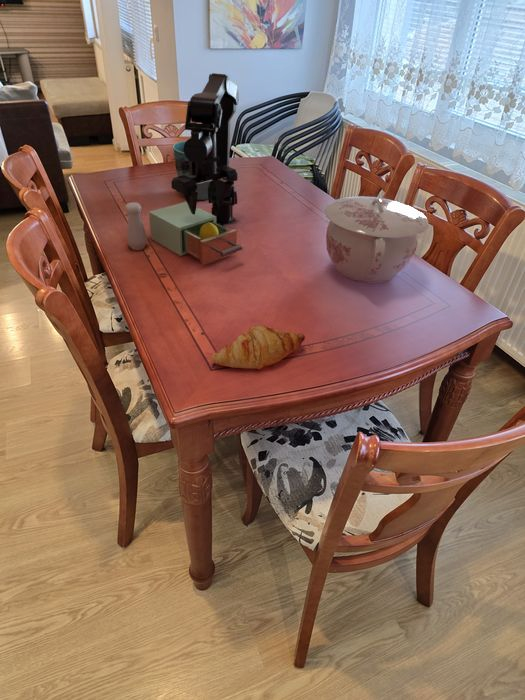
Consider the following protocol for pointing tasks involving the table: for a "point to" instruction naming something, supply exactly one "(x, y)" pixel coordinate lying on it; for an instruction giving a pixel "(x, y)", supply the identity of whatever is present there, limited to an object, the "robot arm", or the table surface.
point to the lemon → (208, 231)
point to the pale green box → (175, 224)
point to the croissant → (258, 348)
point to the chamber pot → (372, 236)
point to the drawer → (209, 243)
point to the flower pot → (201, 188)
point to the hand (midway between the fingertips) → (206, 210)
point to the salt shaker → (135, 227)
